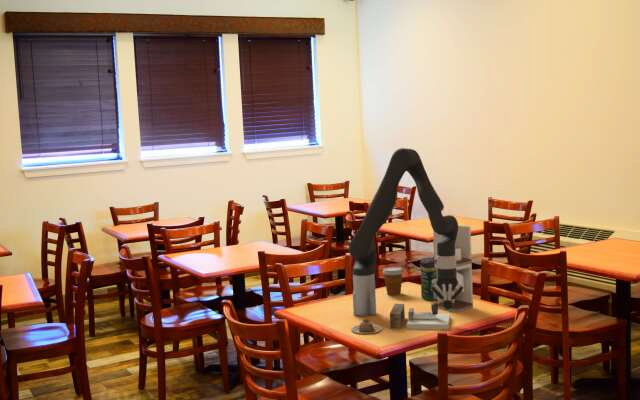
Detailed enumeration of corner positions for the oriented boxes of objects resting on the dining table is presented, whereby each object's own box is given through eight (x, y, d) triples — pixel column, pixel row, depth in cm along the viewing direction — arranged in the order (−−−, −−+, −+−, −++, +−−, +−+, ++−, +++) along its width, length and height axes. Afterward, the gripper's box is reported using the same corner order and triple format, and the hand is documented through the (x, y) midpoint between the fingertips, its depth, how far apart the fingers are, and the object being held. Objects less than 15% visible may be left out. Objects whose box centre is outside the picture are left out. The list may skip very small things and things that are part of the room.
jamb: (390, 328, 306) (389, 313, 305) (395, 317, 321) (394, 303, 320) (401, 328, 305) (400, 314, 304) (405, 318, 320) (404, 303, 320)
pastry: (352, 327, 312) (351, 316, 311) (382, 326, 311) (381, 315, 310) (350, 336, 300) (350, 324, 300) (381, 335, 299) (381, 323, 298)
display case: (436, 307, 334) (433, 227, 330) (453, 303, 340) (450, 224, 336) (455, 312, 325) (453, 229, 321) (473, 307, 331) (470, 226, 327)
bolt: (410, 318, 310) (410, 304, 309) (411, 316, 313) (411, 302, 312) (438, 319, 307) (437, 304, 307) (438, 316, 311) (438, 302, 310)
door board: (406, 328, 304) (406, 315, 304) (410, 318, 320) (410, 305, 319) (448, 329, 301) (447, 315, 300) (450, 318, 316) (449, 305, 316)
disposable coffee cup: (382, 296, 359) (381, 271, 358) (384, 291, 369) (383, 266, 367) (403, 296, 358) (402, 270, 356) (404, 291, 367) (403, 266, 366)
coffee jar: (418, 297, 354) (417, 257, 352) (434, 295, 356) (433, 255, 354) (428, 302, 345) (426, 261, 343) (444, 299, 347) (442, 259, 345)
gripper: (429, 268, 304) (430, 311, 306) (463, 268, 301) (464, 311, 303) (430, 264, 311) (431, 306, 313) (463, 264, 308) (465, 306, 310)
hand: (448, 309), depth 308 cm, fingers closed
